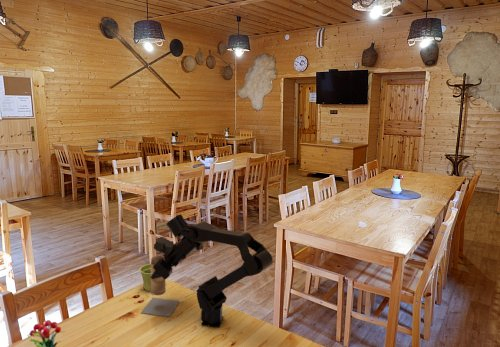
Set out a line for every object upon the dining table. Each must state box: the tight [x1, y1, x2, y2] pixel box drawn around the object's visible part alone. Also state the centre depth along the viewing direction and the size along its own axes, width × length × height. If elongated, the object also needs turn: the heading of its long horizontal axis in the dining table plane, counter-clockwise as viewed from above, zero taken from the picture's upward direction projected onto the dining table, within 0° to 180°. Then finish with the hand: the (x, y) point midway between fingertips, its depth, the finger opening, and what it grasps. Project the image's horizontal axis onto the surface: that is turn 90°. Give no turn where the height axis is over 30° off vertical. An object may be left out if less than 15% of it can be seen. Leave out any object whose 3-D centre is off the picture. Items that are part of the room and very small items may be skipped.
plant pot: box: [139, 263, 151, 292], centre depth 155 cm, size 9×9×9 cm
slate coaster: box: [140, 297, 181, 318], centre depth 142 cm, size 11×11×1 cm
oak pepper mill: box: [150, 255, 166, 296], centre depth 139 cm, size 5×5×13 cm
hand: (154, 274), depth 139 cm, fingers closed on oak pepper mill, 5 cm apart
